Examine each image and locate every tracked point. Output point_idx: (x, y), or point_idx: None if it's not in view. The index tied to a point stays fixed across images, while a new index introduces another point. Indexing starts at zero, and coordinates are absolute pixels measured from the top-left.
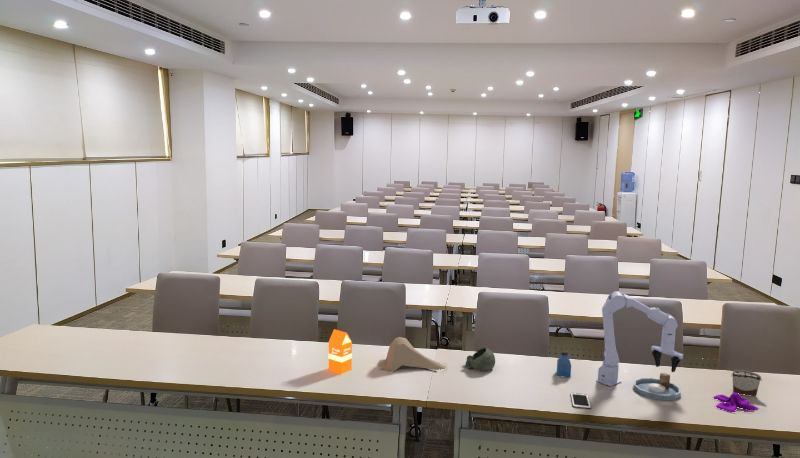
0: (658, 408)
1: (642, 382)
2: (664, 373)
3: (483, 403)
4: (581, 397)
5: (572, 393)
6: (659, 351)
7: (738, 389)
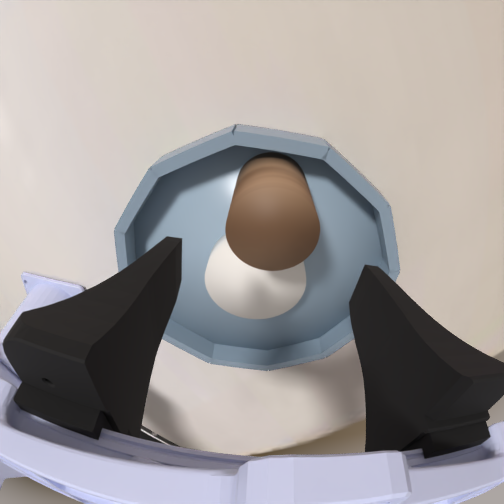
0: (324, 394)
1: (139, 220)
2: (253, 200)
3: None
4: None
5: None
6: (124, 454)
7: None
